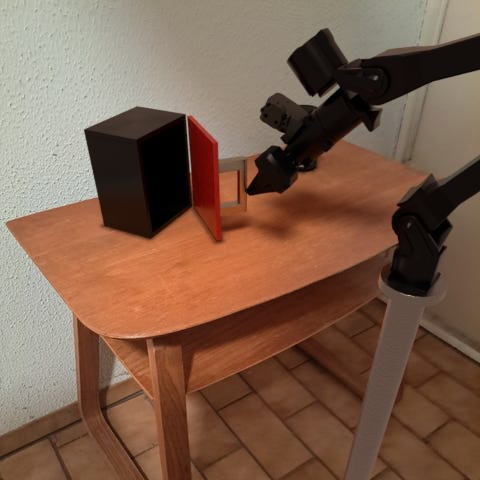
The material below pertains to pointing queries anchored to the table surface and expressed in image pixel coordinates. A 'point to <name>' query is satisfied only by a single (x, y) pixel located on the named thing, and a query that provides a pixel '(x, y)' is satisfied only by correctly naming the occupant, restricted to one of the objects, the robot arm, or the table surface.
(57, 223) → the table surface
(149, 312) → the table surface
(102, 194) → the black cabinet
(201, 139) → the door
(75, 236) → the table surface
